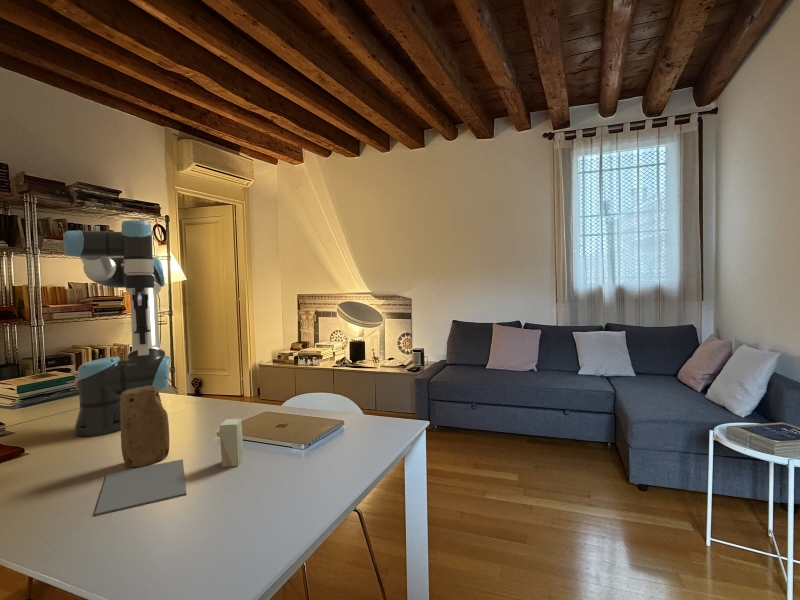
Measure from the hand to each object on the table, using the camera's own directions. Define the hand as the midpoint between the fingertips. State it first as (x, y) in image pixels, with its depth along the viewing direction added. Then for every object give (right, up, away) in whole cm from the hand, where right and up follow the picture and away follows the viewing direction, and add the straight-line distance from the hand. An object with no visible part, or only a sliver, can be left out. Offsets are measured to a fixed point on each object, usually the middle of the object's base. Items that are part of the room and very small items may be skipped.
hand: (143, 354), depth 129 cm
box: (+32, -27, -14) cm, 44 cm away
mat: (+15, -28, -25) cm, 40 cm away
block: (+7, -27, -11) cm, 30 cm away
